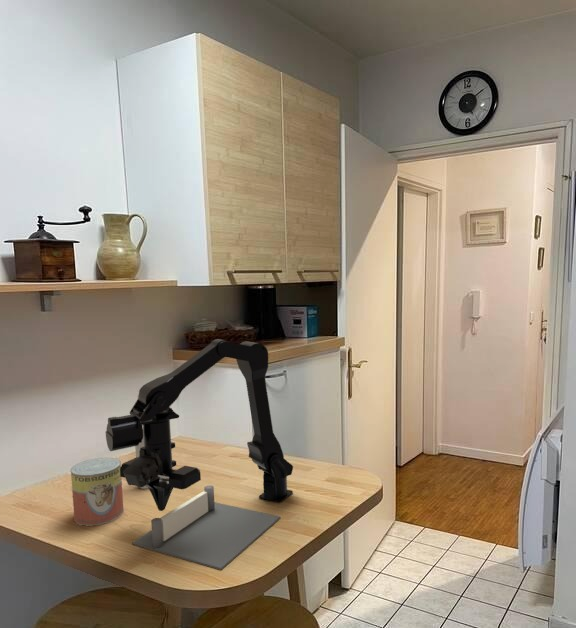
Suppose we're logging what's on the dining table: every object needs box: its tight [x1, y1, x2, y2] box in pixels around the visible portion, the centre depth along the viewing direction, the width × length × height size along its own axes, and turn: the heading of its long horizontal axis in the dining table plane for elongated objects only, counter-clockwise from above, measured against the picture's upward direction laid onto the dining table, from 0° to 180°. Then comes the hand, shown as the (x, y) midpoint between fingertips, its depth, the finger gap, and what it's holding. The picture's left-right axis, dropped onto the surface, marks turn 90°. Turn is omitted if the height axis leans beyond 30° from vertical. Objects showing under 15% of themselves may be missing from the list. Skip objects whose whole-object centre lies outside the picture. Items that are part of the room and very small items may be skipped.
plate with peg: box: [131, 501, 282, 571], centre depth 112 cm, size 23×23×6 cm
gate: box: [160, 484, 215, 541], centre depth 114 cm, size 18×2×5 cm, turn 151°
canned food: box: [70, 457, 125, 527], centre depth 122 cm, size 11×11×12 cm
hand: (161, 510), depth 113 cm, fingers closed
